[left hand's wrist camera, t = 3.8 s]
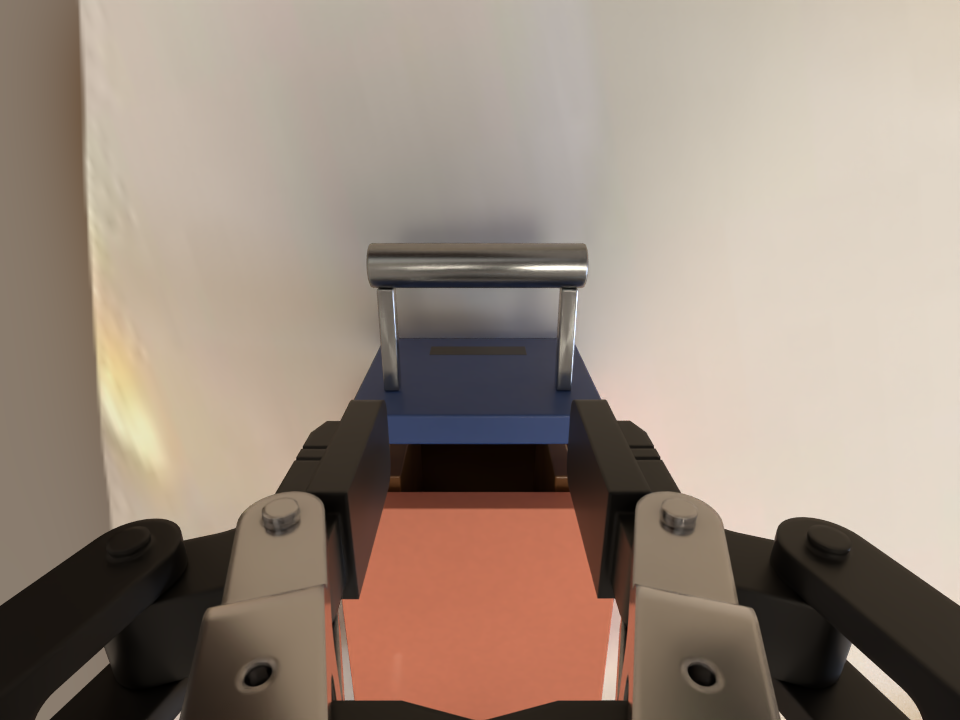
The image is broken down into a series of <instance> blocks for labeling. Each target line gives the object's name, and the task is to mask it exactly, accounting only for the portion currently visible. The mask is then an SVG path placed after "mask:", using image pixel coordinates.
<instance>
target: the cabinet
mask: <svg viewBox="0 0 960 720" xmlns="http://www.w3.org/2000/svg"><path fill="white" fill-rule="evenodd" d="M566 445H567V448H568V444H566ZM613 600H614V599H597V595H596V591H595V587H594V583H593V579H592V575H591V572H590V568H589V564H588V560H587V556H586V552H585V548H584V544H583V541H582V537H581V533H580V529H579V525H578V521H577V517H576V513H575V510H574V506H573V502H572V498H571V494H570V492H387V496H386V500H385V503H384V507H383V511H382V515H381V518H380V522H379V526H378V530H377V533H376V537H375V541H374V545H373V548H372V552H371V556H370V560H369V563H368V567H367V571H366V575H365V579H364V582H363V586H362V590H361V594H360V597H359V599H342V604H343V612H344V620H345V628H346V636H347V644H348V652H349V660H350V668H351V676H352V684H353V692H354V700H402V701H406V702H409V703H413V704H417V705H421V706H424V707H428V708H432V709H436V710H439V711H443V712H447V713H451V714H454V715H458V716H462V717H466V718H469V719H474V720H486V719H491V718H494V717H498V716H502V715H506V714H509V713H513V712H517V711H521V710H524V709H528V708H532V707H536V706H539V705H543V704H547V703H551V702H554V701H558V700H601V699H602V691H603V682H604V674H605V666H606V658H607V649H608V641H609V633H610V625H611V617H612V608H613Z"/></svg>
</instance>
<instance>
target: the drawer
mask: <svg viewBox="0 0 960 720" xmlns="http://www.w3.org/2000/svg"><path fill="white" fill-rule="evenodd" d="M367 275H368V280H369V283H370V286H371V287H373V288H378V289H377V298H378V312H379V326H380V339H381V346H380V348H379V350H378V352H377V354H376V356H375V358H374V360H373V362H372V364H371V366H370V368H369V370H368V372H367V374H366V376H365V378H364V380H363V382H362V384H361V386H360V389H359V391H358V393H357V395H356V397H355V399H354V400H385V403H386V407H387V419H388V433H389V447H390V461H391V471H390V483H389V488H388V492H570V490H569V486H568V479H567V452H568V448H567V445H566V444H568V438H569V423H570V410H571V403H572V401H573V400H601V398H600V396H599V394H598V391H597V389H596V387H595V385H594V383H593V381H592V379H591V377H590V375H589V373H588V370H587V368H586V366H585V364H584V362H583V360H582V358H581V356H580V354H579V352H578V349H577V347H576V345H575V330H576V315H577V301H578V289H577V288H583V287H584V286H585V284H586V281H587V275H588V251H587V247H586V245H585V244H583V243H372V244H370V245H369V247H368V251H367ZM396 288H560V291H559V309H558V327H557V338H399V335H398V319H397V302H396Z"/></svg>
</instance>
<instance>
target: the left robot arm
mask: <svg viewBox="0 0 960 720" xmlns="http://www.w3.org/2000/svg"><path fill="white" fill-rule="evenodd" d="M390 471H391V461H390V447H389V433H388V419H387V407H386V403H385V400H351V401H350V403H349V405H348V407H347V409H346V411H345V413H344V415H343V417H342V419H341V421H327V422H325V423H324V424H322V425H321V426H320V427H318V428H317V429H315V430H314V431H313V432H311V433H310V435H309V437H308V439H307V440H306V442H305V444H304V445H303V449H301V450H300V452H299V454H298V456H297V457H296V461H294V462H293V464H292V466H291V468H290V469H289V471H288V473H287V474H286V476H285V478H284V480H283V481H282V483H281V485H280V486H279V488H278V490H277V491H276V493H275V494H274V495H271V496H268V497H266V498H263V499H261V500H259V501H257V502H255V503H254V504H252V505H251V506H250V507H248V508H247V509H246V510H245V511H244V512H243V513H242V514H241V516H240V518H239V519H238V522H237V526H236V528H234V529H231V530H229V531H225V532H221V533H218V534H213V535H208V536H203V537H199V538H194V539H189V540H184V541H183V537H182V533H181V530H180V527H179V526H178V525H177V524H176V523H174V522H172V521H169V520H165V519H145V520H139V521H135V522H131V523H128V524H125V525H122V526H119V527H117V528H115V529H112V530H111V531H109V532H107V533H105V534H103V535H102V536H100V537H98V538H97V539H95V540H94V541H93V542H91V543H90V544H88V545H87V546H85V547H84V548H82V549H81V550H80V551H78V552H77V553H75V554H74V555H72V556H71V557H70V558H68V559H67V560H65V561H64V562H62V563H61V564H60V565H58V566H57V567H55V568H54V569H52V570H51V571H50V572H48V573H47V574H45V575H44V576H42V577H41V578H40V579H38V580H37V581H35V582H34V583H32V584H31V585H30V586H28V587H27V588H25V589H24V590H22V591H21V592H19V593H18V594H17V595H15V596H14V597H12V598H11V599H9V600H8V601H7V602H5V603H4V604H2V605H1V606H0V720H35V718H36V716H37V713H38V712H39V710H40V708H41V707H42V705H43V704H44V703H45V701H46V700H47V699H48V698H49V696H50V695H51V694H52V693H53V692H54V691H55V690H57V689H58V688H59V687H60V686H61V685H62V684H63V683H64V682H65V681H67V680H68V679H69V678H70V677H71V676H72V675H73V674H74V673H75V672H77V671H78V670H79V669H80V668H81V667H82V666H83V665H84V664H85V663H87V662H88V661H89V660H90V659H91V658H92V657H93V656H94V655H95V654H97V653H98V652H99V651H100V650H101V649H102V648H103V647H104V648H105V651H106V654H107V656H108V659H109V662H110V663H109V664H108V665H107V666H106V667H105V668H104V669H103V670H102V671H101V672H100V673H99V674H98V675H97V676H96V677H95V678H94V679H93V680H91V681H90V682H89V683H88V684H87V685H86V686H85V687H84V688H83V689H82V690H81V691H80V692H79V693H78V694H77V695H75V696H74V697H73V698H72V699H71V700H70V701H69V702H68V703H67V704H66V705H65V706H64V707H63V708H62V709H61V710H60V711H58V712H57V713H56V714H55V715H54V716H53V717H52V718H51V719H50V720H174V719H175V718H176V716H177V715H178V714H179V713H180V712H181V714H180V719H179V720H474V719H469V718H466V717H462V716H458V715H454V714H451V713H447V712H443V711H439V710H436V709H432V708H428V707H424V706H421V705H417V704H413V703H409V702H406V701H402V700H345V699H344V682H343V666H342V649H341V633H340V623H339V616H338V607H339V604H340V601H341V599H359V597H360V594H361V590H362V586H363V582H364V579H365V575H366V571H367V567H368V563H369V560H370V556H371V552H372V548H373V545H374V541H375V537H376V533H377V530H378V526H379V522H380V518H381V515H382V511H383V507H384V503H385V500H386V496H387V492H388V488H389V483H390ZM567 479H568V486H569V490H570V494H571V498H572V502H573V506H574V510H575V513H576V517H577V521H578V525H579V529H580V533H581V537H582V541H583V544H584V548H585V552H586V556H587V560H588V564H589V568H590V572H591V575H592V579H593V583H594V587H595V591H596V595H597V599H616V603H617V606H618V609H619V613H620V615H621V623H620V633H619V649H618V666H617V682H616V699H615V700H558V701H554V702H551V703H547V704H543V705H539V706H536V707H532V708H528V709H524V710H521V711H517V712H513V713H509V714H506V715H502V716H498V717H494V718H491V719H486V720H781V719H780V715H779V712H780V713H781V714H782V715H783V716H784V718H785V719H786V720H910V719H909V718H908V717H907V716H906V715H905V714H904V713H903V712H902V711H901V710H899V709H898V708H897V707H896V706H895V705H894V704H893V703H892V702H891V701H890V700H889V699H888V698H887V697H886V696H885V695H883V694H882V693H881V692H880V691H879V690H878V689H877V688H876V687H875V686H874V685H873V684H872V683H871V682H870V681H869V680H868V679H866V678H865V677H864V676H863V675H862V674H861V673H860V672H859V671H858V670H857V669H856V668H855V667H854V666H853V665H852V664H851V663H849V662H848V661H847V660H846V658H847V655H848V653H849V650H850V647H851V644H853V645H855V646H856V647H857V648H858V649H859V650H860V651H861V652H862V653H863V654H865V655H866V656H867V657H868V658H869V659H870V660H871V661H872V662H873V663H875V664H876V665H877V666H878V667H879V668H880V669H881V670H882V671H883V672H885V673H886V674H887V675H888V676H889V677H890V678H891V679H892V680H893V681H895V682H896V683H897V684H898V685H899V686H900V687H901V688H902V689H903V690H904V691H905V692H906V693H907V694H908V695H909V696H910V697H911V698H912V700H913V701H914V703H915V704H916V706H917V708H918V709H919V711H920V714H921V716H922V719H923V720H960V606H959V605H958V604H956V603H955V602H953V601H952V600H951V599H949V598H948V597H946V596H945V595H943V594H942V593H941V592H939V591H938V590H936V589H935V588H933V587H932V586H931V585H929V584H928V583H926V582H925V581H923V580H922V579H920V578H919V577H918V576H916V575H915V574H913V573H912V572H910V571H909V570H908V569H906V568H905V567H903V566H902V565H900V564H899V563H898V562H896V561H895V560H893V559H892V558H890V557H889V556H888V555H886V554H885V553H883V552H882V551H880V550H879V549H877V548H876V547H875V546H873V545H872V544H870V543H869V542H867V541H866V540H865V539H863V538H862V537H860V536H859V535H857V534H855V533H854V532H852V531H850V530H848V529H846V528H844V527H842V526H840V525H837V524H834V523H831V522H829V521H825V520H821V519H816V518H807V517H796V518H791V519H788V520H785V521H783V522H782V523H781V524H780V525H779V526H778V529H777V532H776V536H775V540H770V539H765V538H761V537H756V536H751V535H746V534H742V533H737V532H733V531H729V530H726V529H724V526H723V522H722V519H721V518H720V516H719V514H718V513H717V512H716V511H715V510H714V509H713V508H712V507H710V506H709V505H708V504H706V503H705V502H703V501H701V500H699V499H697V498H694V497H692V496H689V495H686V494H682V493H681V492H680V490H679V489H678V487H677V485H676V483H675V482H674V480H673V478H672V477H671V475H670V473H669V471H668V470H667V468H666V466H665V464H664V463H663V461H662V460H660V456H659V454H658V452H657V450H656V449H654V445H653V444H652V442H651V440H650V438H649V437H648V435H647V433H646V432H645V431H643V430H642V429H641V428H639V427H638V426H637V425H635V424H634V423H632V422H631V421H617V420H616V418H615V416H614V414H613V412H612V410H611V408H610V406H609V404H608V402H607V401H606V400H573V401H572V403H571V410H570V423H569V438H568V452H567Z"/></svg>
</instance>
